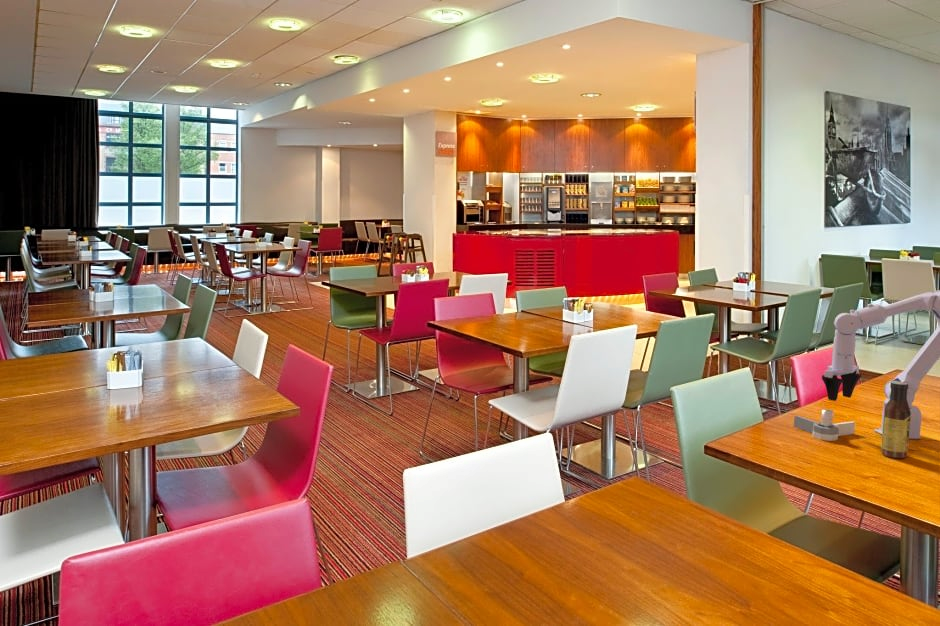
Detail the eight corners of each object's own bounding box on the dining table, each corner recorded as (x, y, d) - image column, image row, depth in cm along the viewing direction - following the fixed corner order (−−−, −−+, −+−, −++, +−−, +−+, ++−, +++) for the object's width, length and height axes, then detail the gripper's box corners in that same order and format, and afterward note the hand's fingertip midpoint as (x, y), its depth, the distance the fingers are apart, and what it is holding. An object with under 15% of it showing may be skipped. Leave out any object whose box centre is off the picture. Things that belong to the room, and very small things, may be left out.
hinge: (826, 441, 205) (827, 429, 205) (786, 427, 218) (787, 416, 218) (862, 436, 211) (863, 424, 210) (821, 423, 224) (822, 412, 223)
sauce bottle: (911, 460, 191) (918, 386, 188) (885, 458, 192) (892, 385, 189) (901, 452, 197) (908, 380, 194) (876, 450, 198) (883, 379, 195)
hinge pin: (827, 435, 211) (829, 409, 210) (833, 438, 208) (835, 411, 207) (817, 435, 211) (819, 409, 209) (823, 439, 208) (825, 412, 207)
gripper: (844, 349, 222) (840, 392, 223) (816, 353, 214) (812, 398, 216) (867, 353, 216) (863, 397, 218) (839, 358, 208) (835, 404, 210)
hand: (839, 398), depth 216 cm, fingers open, 7 cm apart
